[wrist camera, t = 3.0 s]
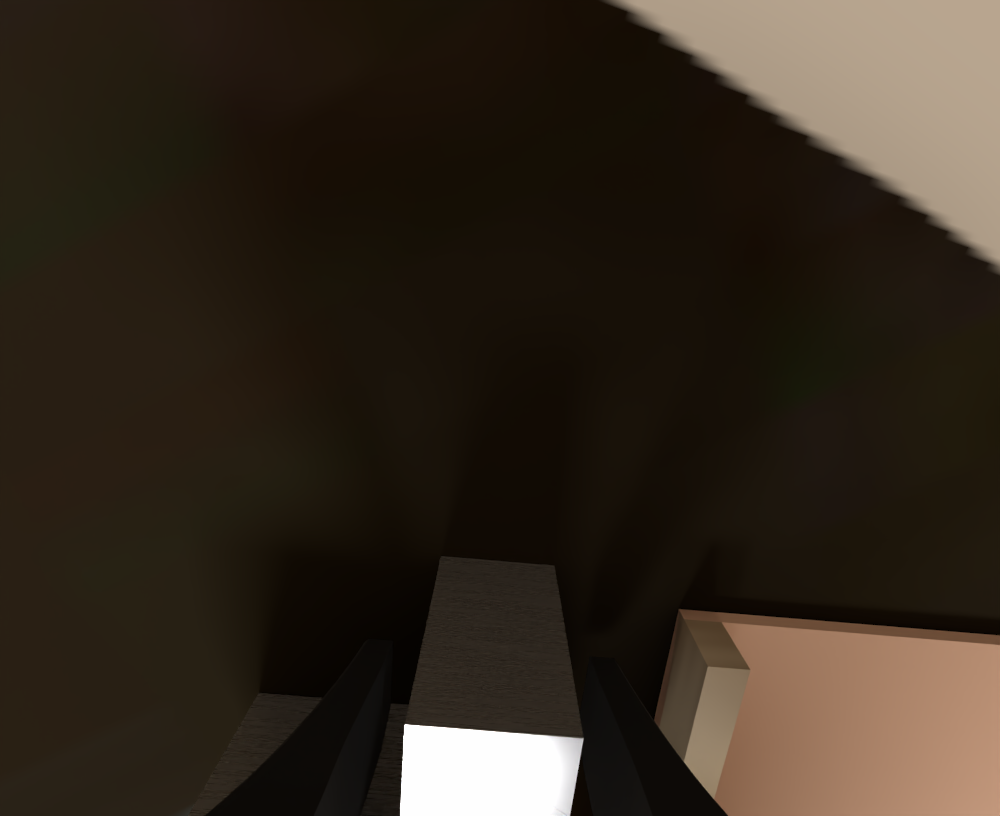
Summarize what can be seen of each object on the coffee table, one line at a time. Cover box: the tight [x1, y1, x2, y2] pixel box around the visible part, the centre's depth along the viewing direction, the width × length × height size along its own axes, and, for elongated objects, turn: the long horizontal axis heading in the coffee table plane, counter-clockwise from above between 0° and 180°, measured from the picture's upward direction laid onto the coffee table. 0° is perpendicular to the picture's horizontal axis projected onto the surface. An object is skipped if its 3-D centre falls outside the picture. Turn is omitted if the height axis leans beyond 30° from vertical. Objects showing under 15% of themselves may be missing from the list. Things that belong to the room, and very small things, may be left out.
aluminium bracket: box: [188, 556, 584, 816], centre depth 12 cm, size 8×8×5 cm
